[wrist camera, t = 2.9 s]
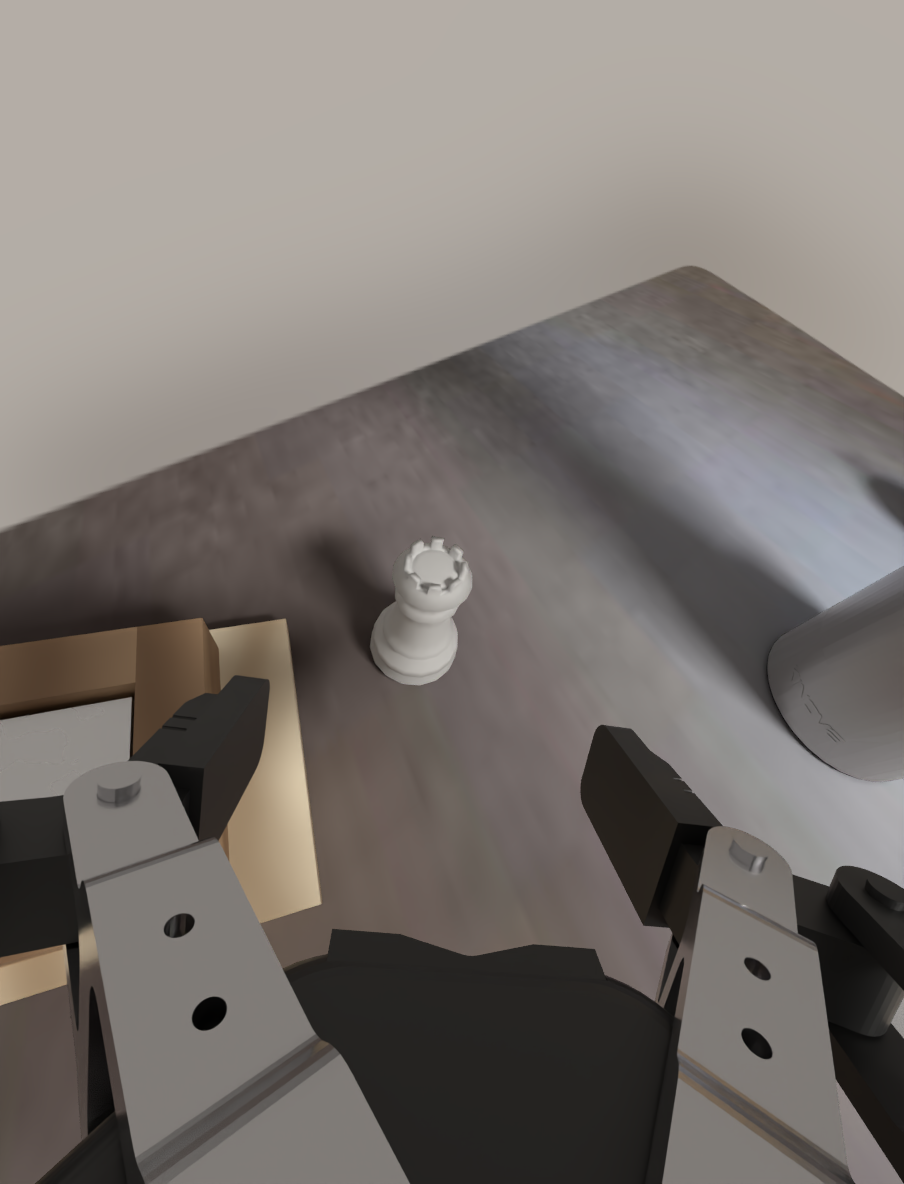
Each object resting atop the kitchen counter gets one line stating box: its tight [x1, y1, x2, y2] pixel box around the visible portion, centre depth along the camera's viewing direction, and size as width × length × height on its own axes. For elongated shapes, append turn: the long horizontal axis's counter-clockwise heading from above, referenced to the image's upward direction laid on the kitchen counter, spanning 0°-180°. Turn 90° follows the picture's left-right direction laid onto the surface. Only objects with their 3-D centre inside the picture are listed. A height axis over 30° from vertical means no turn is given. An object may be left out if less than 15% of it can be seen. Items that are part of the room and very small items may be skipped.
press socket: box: [0, 618, 322, 1005], centre depth 18 cm, size 16×12×4 cm
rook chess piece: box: [370, 536, 472, 685], centre depth 22 cm, size 4×4×8 cm
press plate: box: [0, 697, 135, 802], centre depth 17 cm, size 5×5×1 cm
